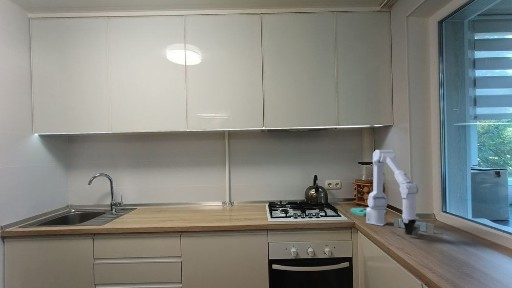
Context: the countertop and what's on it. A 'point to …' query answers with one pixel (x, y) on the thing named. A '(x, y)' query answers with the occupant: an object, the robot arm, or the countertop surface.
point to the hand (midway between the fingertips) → (409, 234)
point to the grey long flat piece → (429, 226)
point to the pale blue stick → (422, 225)
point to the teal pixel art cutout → (360, 211)
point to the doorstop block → (415, 230)
